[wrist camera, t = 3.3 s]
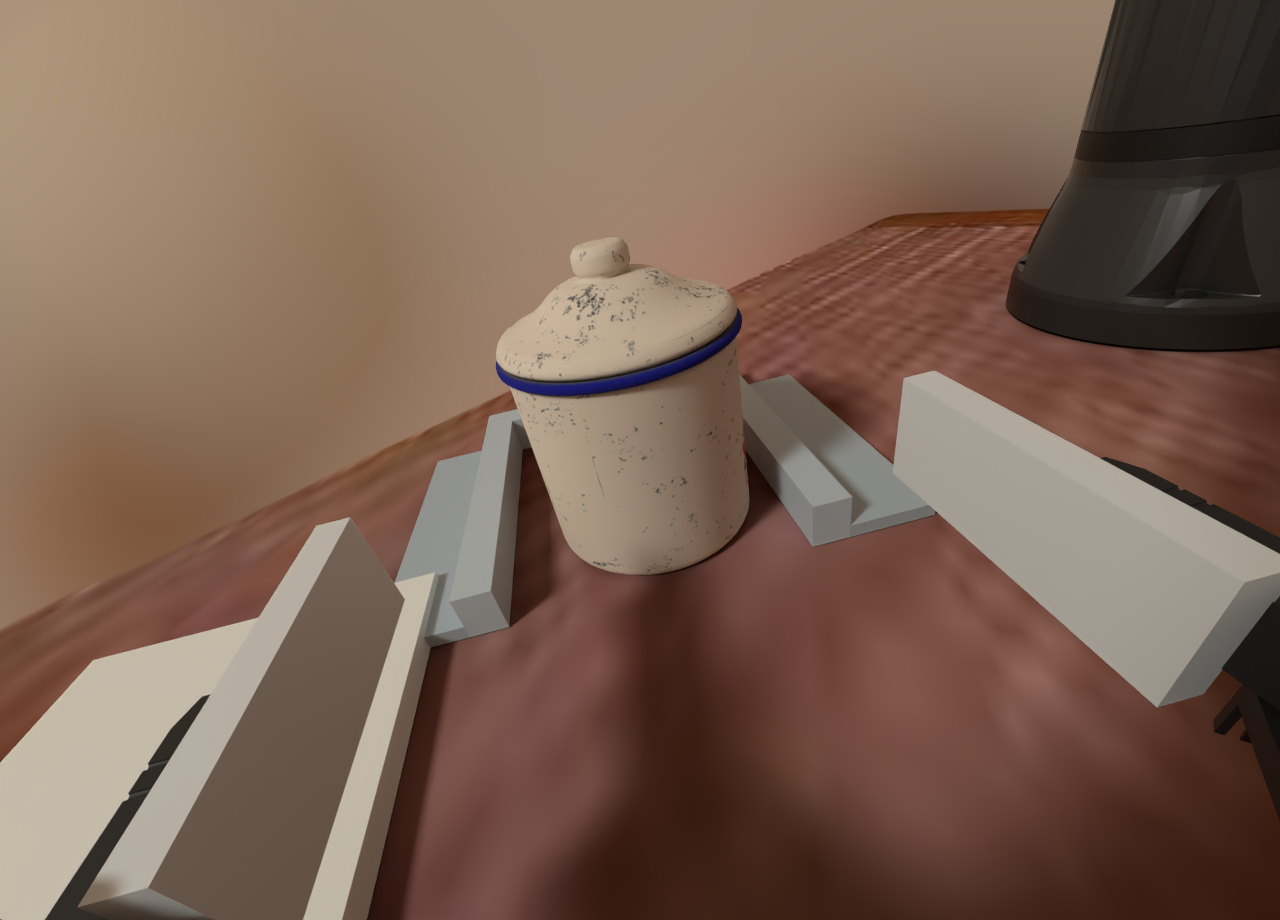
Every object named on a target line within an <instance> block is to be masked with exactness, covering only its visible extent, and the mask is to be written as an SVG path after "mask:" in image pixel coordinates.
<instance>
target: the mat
mask: <svg viewBox="0 0 1280 920" xmlns="http://www.w3.org/2000/svg"><path fill="white" fill-rule="evenodd" d="M438 581H439V578H438V577H437V575H436V573H435V572H434V573H430V574H426V575H423V576H419V577H415V578H411V579H407V580H403V581H399V582H395V583H394V584H395V585H396V587H397V588H398V590H399V591H400V593H401V594H402V596H403V597H404V599H405V601H404V604H403V607H402V610H401V614H400V617H399V620H398V623H397V626H396V629H395V632H394V635H393V639H392V642H391V645H390V648H389V651H388V654H387V657H386V661H385V664H384V667H383V670H382V673H381V676H380V679H379V683H378V686H377V689H376V692H375V695H374V698H373V701H372V705H371V708H370V711H369V714H368V717H367V720H366V723H365V727H364V730H363V733H362V736H361V739H360V742H359V745H358V749H357V752H356V755H355V758H354V761H353V764H352V767H351V771H350V774H349V777H348V780H347V783H346V786H345V789H344V793H343V796H342V799H341V802H340V805H339V808H338V811H337V815H336V818H335V821H334V824H333V827H332V830H331V833H330V837H329V840H328V843H327V846H326V849H325V852H324V855H323V859H322V862H321V865H320V868H319V871H318V874H317V877H316V881H315V884H314V887H313V890H312V893H311V896H310V899H309V903H308V906H307V909H306V912H305V915H304V918H303V920H367V917H368V913H369V909H370V905H371V900H372V896H373V892H374V887H375V883H376V879H377V875H378V870H379V866H380V862H381V858H382V853H383V849H384V845H385V841H386V836H387V832H388V828H389V824H390V819H391V815H392V811H393V807H394V802H395V798H396V794H397V790H398V785H399V781H400V777H401V772H402V768H403V764H404V760H405V755H406V751H407V747H408V743H409V738H410V734H411V730H412V726H413V721H414V717H415V713H416V709H417V704H418V700H419V696H420V692H421V687H422V683H423V679H424V674H425V670H426V666H427V662H428V657H429V653H430V649H431V647H430V646H429V644H428V643H427V641H426V640H425V638H424V636H425V632H426V628H427V624H428V620H429V616H430V612H431V608H432V604H433V600H434V596H435V592H436V588H437V585H438ZM257 620H258V618H256V619H252V620H248V621H244V622H240V623H236V624H232V625H228V626H224V627H221V628H217V629H213V630H209V631H205V632H201V633H197V634H193V635H189V636H186V637H182V638H178V639H174V640H170V641H166V642H162V643H158V644H154V645H151V646H147V647H143V648H139V649H135V650H131V651H127V652H123V653H119V654H116V655H112V656H108V657H104V658H100V659H96V660H93V661H92V662H91V663H90V664H89V666H88V667H87V668H86V669H85V670H84V671H83V672H82V673H81V674H80V675H79V677H78V678H77V679H76V680H75V681H74V682H73V683H72V684H71V685H70V686H69V688H68V689H67V690H66V691H65V692H64V693H63V694H62V695H61V696H60V698H59V699H58V700H57V701H56V702H55V703H54V704H53V705H52V706H51V707H50V709H49V710H48V711H47V712H46V713H45V714H44V715H43V716H42V717H41V718H40V720H39V721H38V722H37V723H36V724H35V725H34V726H33V727H32V728H31V730H30V731H29V732H28V733H27V734H26V735H25V736H24V737H23V738H22V739H21V741H20V742H19V743H18V744H17V745H16V746H15V747H14V748H13V749H12V750H11V752H10V753H9V754H8V755H7V756H6V757H5V758H4V759H3V760H2V761H1V763H0V919H2V920H45V919H46V917H47V916H48V914H49V913H50V911H51V910H52V908H53V906H54V905H55V903H56V902H57V900H58V899H59V897H60V896H61V894H62V893H63V891H64V890H65V888H66V887H67V885H68V884H69V882H70V881H71V879H72V878H73V876H74V875H75V873H76V872H77V870H78V869H79V867H80V866H81V864H82V863H83V861H84V859H85V858H86V856H87V855H88V853H89V852H90V850H91V849H92V847H93V846H94V844H95V843H96V841H97V840H98V838H99V837H100V835H101V834H102V832H103V831H104V829H105V828H106V826H107V825H108V823H109V822H110V820H111V819H112V817H113V816H114V814H115V812H116V811H117V809H118V808H119V806H120V805H121V803H122V802H123V801H126V800H128V798H129V794H128V793H129V791H130V790H131V788H132V787H133V785H134V784H135V782H136V781H137V779H138V778H139V776H140V775H141V773H142V772H143V771H144V770H147V769H148V767H149V765H148V762H149V761H150V759H151V758H152V756H153V755H154V753H155V752H156V750H157V749H158V747H159V746H160V744H161V743H162V741H163V740H164V738H165V737H166V735H167V734H168V732H169V731H170V729H171V728H172V727H173V726H174V725H175V724H176V723H177V722H178V721H179V720H180V719H181V718H182V717H183V716H184V715H185V714H186V713H187V711H188V710H189V709H190V708H191V707H192V706H193V705H194V704H195V703H196V702H197V701H198V700H199V699H200V698H201V697H202V696H206V695H210V694H211V693H212V692H213V690H214V688H215V687H216V685H217V684H218V682H219V680H220V679H221V677H222V676H223V674H224V672H225V671H226V669H227V668H228V666H229V664H230V663H231V661H232V660H233V658H234V656H235V655H236V653H237V652H238V650H239V649H240V647H241V645H242V644H243V642H244V641H245V639H246V637H247V636H248V634H249V633H250V631H251V629H252V628H253V626H254V625H255V623H256V621H257Z"/></svg>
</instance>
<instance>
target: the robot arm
mask: <svg viewBox="0 0 1280 920" xmlns="http://www.w3.org/2000/svg"><path fill="white" fill-rule="evenodd" d="M1006 307H1007V309H1008V310H1009V312H1010V313H1011V314H1012V315H1014V316H1015V317H1016V318H1018V319H1020V320H1021V321H1023V322H1025V323H1027V324H1030V325H1032V326H1034V327H1037V328H1040V329H1043V330H1046V331H1049V332H1053V333H1056V334H1060V335H1064V336H1068V337H1073V338H1078V339H1083V340H1089V341H1095V342H1101V343H1108V344H1116V345H1125V346H1134V347H1146V348H1161V349H1189V350H1217V349H1244V348H1258V347H1269V346H1278V345H1280V0H1115V4H1114V8H1113V12H1112V15H1111V19H1110V23H1109V27H1108V30H1107V34H1106V38H1105V42H1104V46H1103V50H1102V53H1101V57H1100V61H1099V64H1098V68H1097V72H1096V76H1095V80H1094V84H1093V87H1092V91H1091V95H1090V99H1089V103H1088V106H1087V110H1086V114H1085V117H1084V121H1083V125H1082V129H1081V133H1080V137H1079V141H1078V145H1077V149H1076V153H1075V156H1074V160H1073V164H1072V167H1071V170H1070V173H1069V175H1068V178H1067V180H1066V182H1065V183H1064V185H1063V187H1062V188H1061V190H1060V192H1059V193H1058V195H1057V197H1056V199H1055V201H1054V202H1053V204H1052V206H1051V207H1050V209H1049V211H1048V213H1047V214H1046V216H1045V218H1044V220H1043V222H1042V223H1041V225H1040V227H1039V229H1038V231H1037V233H1036V235H1035V237H1034V239H1033V241H1032V243H1031V246H1030V248H1029V250H1028V252H1027V253H1026V254H1025V255H1024V256H1022V257H1021V258H1020V259H1019V261H1018V263H1017V264H1016V266H1015V268H1014V270H1013V273H1012V276H1011V281H1010V285H1009V290H1008V294H1007V299H1006ZM893 473H894V474H895V475H896V476H897V477H898V478H899V479H900V480H901V481H903V482H904V483H905V484H906V485H907V486H908V487H909V488H910V489H912V490H913V491H914V492H915V493H916V494H917V495H918V496H919V497H921V498H922V499H923V500H924V501H925V502H926V503H927V504H928V505H930V506H931V507H932V508H933V509H934V510H935V511H936V512H937V513H939V514H940V515H941V516H942V517H943V518H944V519H945V520H946V521H948V522H949V523H950V524H951V525H952V526H953V527H954V528H955V529H957V530H958V531H959V532H960V533H961V534H962V535H963V536H964V537H966V538H967V539H968V540H969V541H970V542H971V543H972V544H973V545H975V546H976V547H977V548H978V549H979V550H980V551H981V552H982V553H984V554H985V555H986V556H987V557H988V558H989V559H990V560H991V561H993V562H994V563H995V564H996V565H997V566H998V567H999V568H1000V569H1002V570H1003V571H1004V572H1005V573H1006V574H1007V575H1008V576H1010V577H1011V578H1012V579H1013V580H1014V581H1015V582H1016V583H1017V584H1019V585H1020V586H1021V587H1022V588H1023V589H1024V590H1025V591H1026V592H1028V593H1029V594H1030V595H1031V596H1032V597H1033V598H1034V599H1035V600H1037V601H1038V602H1039V603H1040V604H1041V605H1042V606H1043V607H1044V608H1046V609H1047V610H1048V611H1049V612H1050V613H1051V614H1052V615H1053V616H1055V617H1056V618H1057V619H1058V620H1059V621H1060V622H1061V623H1062V624H1064V625H1065V626H1066V627H1067V628H1068V629H1069V630H1070V631H1071V632H1073V633H1074V634H1075V635H1076V636H1077V637H1078V638H1079V639H1080V640H1082V641H1083V642H1084V643H1085V644H1086V645H1087V646H1088V647H1089V648H1091V649H1092V650H1093V651H1094V652H1095V653H1096V654H1097V655H1098V656H1100V657H1101V658H1102V659H1103V660H1104V661H1105V662H1106V663H1107V664H1109V665H1110V666H1111V667H1112V668H1113V669H1114V670H1115V671H1116V672H1118V673H1119V674H1120V675H1121V676H1122V677H1123V678H1124V679H1125V680H1127V681H1128V682H1129V683H1130V684H1131V685H1132V686H1133V687H1134V688H1136V689H1137V690H1138V691H1139V692H1140V693H1141V694H1142V695H1143V696H1145V697H1146V698H1147V699H1148V700H1149V701H1150V702H1151V703H1152V704H1154V705H1155V706H1156V707H1161V706H1164V705H1168V704H1171V703H1174V702H1178V701H1181V700H1185V699H1188V698H1192V697H1195V696H1199V695H1202V694H1204V693H1205V692H1206V690H1207V689H1208V688H1209V686H1210V685H1211V684H1212V683H1213V681H1214V680H1215V679H1216V677H1217V676H1218V675H1219V674H1220V672H1221V671H1222V670H1225V671H1226V672H1227V673H1229V674H1230V675H1231V676H1233V677H1234V678H1235V679H1237V680H1238V681H1239V682H1241V683H1242V684H1243V686H1242V687H1241V688H1240V689H1239V690H1238V692H1237V693H1236V694H1235V695H1234V696H1233V697H1232V699H1231V700H1230V701H1229V702H1228V703H1227V705H1226V706H1225V707H1224V708H1223V709H1222V711H1221V712H1220V713H1219V714H1218V715H1217V717H1216V718H1215V719H1214V732H1215V733H1219V734H1222V735H1225V734H1226V733H1227V732H1228V731H1229V730H1230V729H1231V728H1232V726H1233V725H1234V724H1235V723H1236V722H1237V721H1238V720H1239V719H1240V717H1242V718H1243V721H1244V723H1245V726H1246V730H1245V731H1244V732H1243V734H1242V735H1241V737H1240V740H1242V741H1246V742H1249V743H1252V745H1253V748H1254V751H1255V754H1256V756H1257V759H1258V762H1259V765H1260V768H1261V770H1262V773H1263V776H1264V779H1265V781H1266V784H1267V787H1268V790H1269V792H1270V795H1271V798H1272V801H1273V803H1274V806H1275V809H1276V812H1277V814H1278V817H1279V820H1280V538H1279V537H1277V536H1275V535H1273V534H1271V533H1269V532H1267V531H1265V530H1263V529H1261V528H1259V527H1257V526H1255V525H1254V524H1252V523H1250V522H1248V521H1246V520H1244V519H1242V518H1240V517H1238V516H1236V515H1234V514H1232V513H1230V512H1228V511H1226V510H1224V509H1222V508H1220V507H1218V506H1216V505H1214V504H1213V505H1208V504H1207V502H1206V500H1204V499H1202V498H1201V497H1199V496H1197V495H1195V494H1193V493H1191V492H1189V491H1187V490H1179V489H1178V486H1177V485H1175V484H1173V483H1171V482H1169V481H1167V480H1165V479H1163V478H1161V477H1159V476H1157V475H1155V474H1153V473H1151V472H1150V471H1148V470H1146V469H1143V468H1140V467H1137V466H1133V465H1130V464H1127V463H1124V462H1120V461H1117V460H1114V459H1110V458H1107V457H1103V458H1098V457H1096V456H1094V455H1093V454H1091V453H1089V452H1087V451H1085V450H1083V449H1081V448H1079V447H1077V446H1076V445H1074V444H1072V443H1070V442H1068V441H1066V440H1064V439H1062V438H1061V437H1059V436H1057V435H1055V434H1053V433H1051V432H1049V431H1047V430H1045V429H1044V428H1042V427H1040V426H1038V425H1036V424H1034V423H1032V422H1030V421H1029V420H1027V419H1025V418H1023V417H1021V416H1019V415H1017V414H1015V413H1014V412H1012V411H1010V410H1008V409H1006V408H1004V407H1002V406H1000V405H998V404H997V403H995V402H993V401H991V400H989V399H987V398H985V397H983V396H982V395H980V394H978V393H976V392H974V391H972V390H970V389H968V388H966V387H965V386H963V385H961V384H959V383H957V382H955V381H953V380H951V379H950V378H948V377H946V376H944V375H942V374H940V373H938V372H936V371H930V372H926V373H922V374H918V375H914V376H910V377H906V378H904V381H903V389H902V398H901V406H900V415H899V423H898V432H897V441H896V449H895V458H894V466H893ZM404 601H405V599H404V597H403V596H402V594H401V593H400V591H399V590H398V588H397V587H396V585H395V584H394V582H393V581H392V579H391V578H390V576H389V575H388V573H387V572H386V570H385V569H384V567H383V566H382V564H381V563H380V561H379V560H378V558H377V557H376V555H375V554H374V552H373V551H372V549H371V548H370V546H369V545H368V543H367V542H366V540H365V539H364V537H363V536H362V534H361V532H360V531H359V529H358V528H357V526H356V525H355V523H354V522H353V520H352V519H351V517H350V518H346V519H342V520H338V521H334V522H330V523H326V524H322V525H318V526H316V527H315V529H314V530H313V532H312V534H311V535H310V537H309V538H308V540H307V542H306V543H305V545H304V546H303V548H302V550H301V551H300V553H299V554H298V556H297V558H296V559H295V561H294V562H293V564H292V566H291V567H290V569H289V570H288V572H287V574H286V575H285V577H284V578H283V580H282V582H281V583H280V585H279V586H278V588H277V589H276V591H275V593H274V594H273V596H272V597H271V599H270V601H269V602H268V604H267V605H266V607H265V609H264V610H263V612H262V613H261V615H260V617H259V618H258V620H257V621H256V623H255V625H254V626H253V628H252V629H251V631H250V633H249V634H248V636H247V637H246V639H245V641H244V642H243V644H242V645H241V647H240V649H239V650H238V652H237V653H236V655H235V656H234V658H233V660H232V661H231V663H230V664H229V666H228V668H227V669H226V671H225V672H224V674H223V676H222V677H221V679H220V680H219V682H218V684H217V685H216V687H215V688H214V690H213V692H212V693H211V694H210V695H206V696H202V697H201V698H200V699H199V700H198V701H197V702H196V703H195V704H194V705H193V706H192V707H191V708H190V709H189V710H188V711H187V713H186V714H185V715H184V716H183V717H182V718H181V719H180V720H179V721H178V722H177V723H176V724H175V725H174V726H173V727H172V728H171V729H170V731H169V732H168V734H167V735H166V737H165V738H164V740H163V741H162V743H161V744H160V746H159V747H158V749H157V750H156V752H155V753H154V755H153V756H152V758H151V759H150V761H149V762H148V765H149V767H148V769H147V770H144V771H143V772H142V773H141V775H140V776H139V778H138V779H137V781H136V782H135V784H134V785H133V787H132V788H131V790H130V791H129V793H128V794H129V798H128V800H126V801H123V802H122V803H121V805H120V806H119V808H118V809H117V811H116V812H115V814H114V816H113V817H112V819H111V820H110V822H109V823H108V825H107V826H106V828H105V829H104V831H103V832H102V834H101V835H100V837H99V838H98V840H97V841H96V843H95V844H94V846H93V847H92V849H91V850H90V852H89V853H88V855H87V856H86V858H85V859H84V861H83V863H82V864H81V866H80V867H79V869H78V870H77V872H76V873H75V875H74V876H73V878H72V879H71V881H70V882H69V884H68V885H67V887H66V888H65V890H64V891H63V893H62V894H61V896H60V897H59V899H58V900H57V902H56V903H55V905H54V906H53V908H52V910H51V911H50V913H49V914H48V916H47V917H46V919H45V920H303V918H304V915H305V912H306V909H307V906H308V903H309V899H310V896H311V893H312V890H313V887H314V884H315V881H316V877H317V874H318V871H319V868H320V865H321V862H322V859H323V855H324V852H325V849H326V846H327V843H328V840H329V837H330V833H331V830H332V827H333V824H334V821H335V818H336V815H337V811H338V808H339V805H340V802H341V799H342V796H343V793H344V789H345V786H346V783H347V780H348V777H349V774H350V771H351V767H352V764H353V761H354V758H355V755H356V752H357V749H358V745H359V742H360V739H361V736H362V733H363V730H364V727H365V723H366V720H367V717H368V714H369V711H370V708H371V705H372V701H373V698H374V695H375V692H376V689H377V686H378V683H379V679H380V676H381V673H382V670H383V667H384V664H385V661H386V657H387V654H388V651H389V648H390V645H391V642H392V639H393V635H394V632H395V629H396V626H397V623H398V620H399V617H400V614H401V610H402V607H403V604H404ZM0 920H2V919H0Z"/></svg>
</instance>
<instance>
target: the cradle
mask: <svg viewBox="0 0 1280 920" xmlns="http://www.w3.org/2000/svg"><path fill="white" fill-rule="evenodd" d="M739 377H740V390H741V402H742V414H743V426H744V438H745V450H746V452H747V453H748V455H749V456H750V458H751V459H752V460H753V462H754V463H755V465H756V466H757V468H758V469H759V470H760V472H761V473H762V475H763V476H764V478H765V479H766V480H767V482H768V483H769V485H770V486H771V488H772V489H773V490H774V492H775V493H776V495H777V496H778V498H779V499H780V501H781V502H782V503H783V505H784V506H785V508H786V509H787V511H788V512H789V513H790V515H791V516H792V518H793V519H794V521H795V522H796V523H797V525H798V526H799V528H800V529H801V531H802V532H803V533H804V535H805V536H806V538H807V539H808V541H809V542H810V544H811V545H812V546H813V547H814V546H818V545H822V544H826V543H830V542H833V541H837V540H841V539H845V538H849V537H852V536H856V535H860V534H864V533H868V532H871V531H875V530H879V529H883V528H887V527H890V526H894V525H898V524H902V523H906V522H909V521H913V520H917V519H921V518H925V517H928V516H932V515H935V510H934V509H933V508H932V507H931V506H930V505H928V504H927V503H926V502H925V501H924V500H923V499H922V498H921V497H919V496H918V495H917V494H916V493H915V492H914V491H913V490H912V489H910V488H909V487H908V486H907V485H906V484H905V483H904V482H903V481H901V480H900V479H899V478H898V477H897V476H896V475H895V474H894V473H893V466H894V465H893V464H892V463H890V462H889V461H888V460H887V459H886V458H885V457H884V456H882V455H881V454H880V453H879V452H878V451H877V450H875V449H874V448H873V447H872V446H871V445H870V444H869V443H867V442H866V441H865V440H864V439H863V438H862V437H861V436H859V435H858V434H857V433H856V432H855V431H854V430H852V429H851V428H850V427H849V426H848V425H847V424H846V423H844V422H843V421H842V420H841V419H840V418H839V417H837V416H836V415H835V414H834V413H833V412H832V411H831V410H829V409H828V408H827V407H826V406H825V405H824V404H822V403H821V402H820V401H819V400H818V399H817V398H816V397H814V396H813V395H812V394H811V393H810V392H809V391H807V390H806V389H805V388H804V387H803V386H802V385H801V384H799V383H798V382H797V381H796V380H795V379H794V378H792V377H791V376H790V375H785V376H781V377H777V378H773V379H768V380H764V381H760V382H756V383H752V384H748V383H747V382H746V381H745V380H744V379H743V378H742V377H741V375H740V374H739ZM531 447H532V446H531V444H530V441H529V438H528V435H527V433H526V430H525V427H524V424H523V422H522V419H521V416H520V413H519V411H518V409H517V410H512V411H508V412H504V413H500V414H496V415H492V416H489V421H488V425H487V430H486V435H485V439H484V444H483V448H482V451H478V452H474V453H470V454H466V455H462V456H458V457H454V458H450V459H446V460H442V461H438V463H437V466H436V469H435V471H434V474H433V477H432V480H431V483H430V485H429V488H428V491H427V494H426V497H425V499H424V502H423V505H422V508H421V511H420V513H419V516H418V519H417V522H416V525H415V527H414V530H413V533H412V536H411V539H410V541H409V544H408V547H407V550H406V553H405V556H404V558H403V561H402V564H401V567H400V570H399V572H398V575H397V578H396V581H395V582H399V581H403V580H407V579H411V578H415V577H419V576H423V575H426V574H430V573H434V572H435V573H436V575H437V577H438V578H439V581H438V585H437V588H436V592H435V596H434V600H433V604H432V608H431V612H430V616H429V620H428V624H427V628H426V632H425V636H424V638H425V640H426V641H427V643H428V644H429V646H430V647H435V646H439V645H443V644H446V643H450V642H454V641H458V640H462V639H465V638H469V637H473V636H477V635H481V634H484V633H488V632H492V631H496V630H500V629H503V628H507V627H509V623H510V610H511V597H512V584H513V571H514V558H515V545H516V532H517V519H518V506H519V492H520V479H521V466H522V453H523V449H527V448H531Z"/></svg>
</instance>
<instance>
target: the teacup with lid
mask: <svg viewBox="0 0 1280 920" xmlns="http://www.w3.org/2000/svg"><path fill="white" fill-rule="evenodd" d="M570 261H571V265H572V269H573V272H574V273H575V275H576V276H575V277H573V278H570V279H569V280H567V281H565V282H563V283H562V284H560V285H559V286H557V287H556V288H555V289H554V290H553V291H552V292H551V293H550V294H549V295H548V296H547V297H546V299H545V300H544V301H543V302H542V304H541V305H540V306H539V307H538V308H537V309H536V311H534V312H532V313H530V314H529V315H527V316H525V317H523V318H522V319H520V320H519V321H517V322H516V323H514V324H513V325H512V326H511V327H510V328H509V329H507V330H506V332H505V333H504V334H503V335H502V337H501V338H500V340H499V342H498V346H497V350H496V359H497V362H496V370H497V373H498V376H499V377H500V379H501V380H502V381H503V382H504V383H505V384H507V385H508V386H510V388H511V391H512V394H513V397H514V400H515V402H516V405H517V408H518V411H519V413H520V416H521V419H522V422H523V424H524V427H525V430H526V433H527V435H528V438H529V441H530V444H531V446H532V449H533V452H534V455H535V457H536V460H537V463H538V466H539V468H540V471H541V474H542V476H543V479H544V482H545V485H546V487H547V490H548V493H549V496H550V498H551V501H552V504H553V507H554V509H555V512H556V515H557V518H558V520H559V523H560V526H561V529H562V531H563V534H564V537H565V539H566V541H567V543H568V545H569V546H570V548H571V549H572V550H573V551H574V552H575V553H576V554H577V555H578V556H579V557H580V558H582V559H583V560H584V561H586V562H587V563H589V564H591V565H593V566H595V567H597V568H600V569H603V570H606V571H609V572H614V573H618V574H626V575H653V574H661V573H666V572H671V571H675V570H679V569H682V568H685V567H688V566H690V565H693V564H695V563H698V562H700V561H702V560H703V559H705V558H707V557H709V556H711V555H712V554H714V553H715V552H717V551H718V550H719V549H721V548H722V547H723V546H724V545H725V544H727V543H728V542H729V541H730V540H731V539H732V538H733V537H734V535H735V534H736V533H737V532H738V530H739V529H740V527H741V526H742V524H743V522H744V520H745V517H746V515H747V512H748V508H749V487H748V475H747V463H746V450H745V438H744V426H743V414H742V402H741V390H740V377H739V365H738V353H737V341H736V336H737V334H738V333H739V331H740V328H741V325H742V316H741V313H740V311H739V309H738V308H737V304H736V302H735V300H734V298H733V297H732V296H731V294H730V293H729V292H728V291H727V290H725V289H724V288H723V287H721V286H719V285H717V284H714V283H711V282H707V281H702V280H696V279H682V278H679V277H676V276H674V275H672V274H670V273H668V272H666V271H664V270H662V269H660V268H657V267H654V266H650V265H642V264H629V262H630V256H629V251H628V247H627V244H626V243H625V242H624V241H623V240H622V239H620V238H618V237H610V238H603V239H597V240H593V241H589V242H586V243H583V244H580V245H578V246H576V247H575V248H574V249H573V250H572V253H571V256H570Z"/></svg>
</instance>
